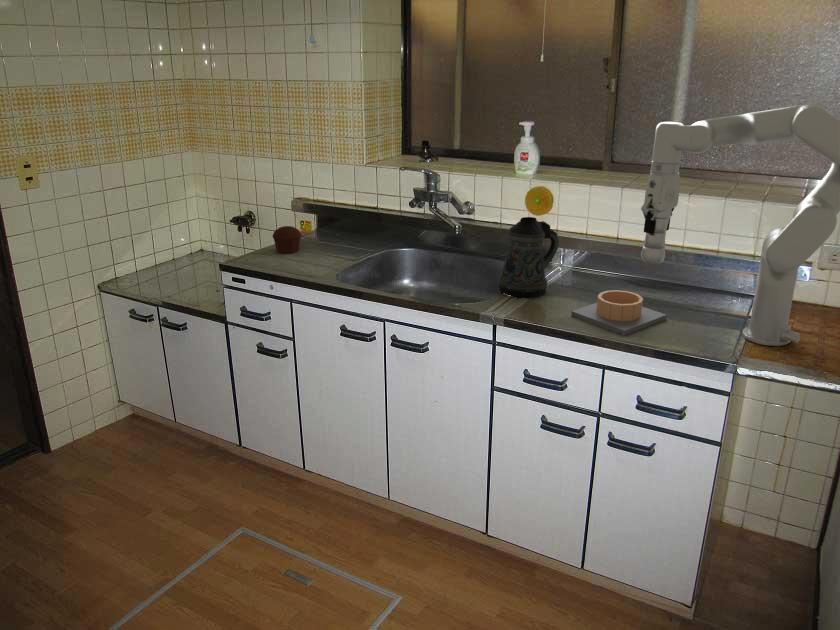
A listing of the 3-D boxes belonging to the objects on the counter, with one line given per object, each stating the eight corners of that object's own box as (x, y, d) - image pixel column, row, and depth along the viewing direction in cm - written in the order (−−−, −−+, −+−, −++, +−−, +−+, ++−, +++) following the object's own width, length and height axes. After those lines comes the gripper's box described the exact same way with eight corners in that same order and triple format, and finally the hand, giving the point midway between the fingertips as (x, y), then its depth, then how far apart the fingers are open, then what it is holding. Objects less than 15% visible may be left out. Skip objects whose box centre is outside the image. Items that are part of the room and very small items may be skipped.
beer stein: (488, 291, 242) (489, 219, 232) (522, 277, 254) (526, 209, 245) (527, 302, 231) (531, 227, 222) (561, 288, 243) (566, 216, 234)
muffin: (270, 255, 285) (268, 230, 281) (276, 247, 295) (274, 223, 291) (300, 255, 284) (298, 230, 281) (305, 247, 295) (303, 223, 291)
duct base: (666, 319, 216) (668, 299, 214) (624, 335, 205) (626, 314, 203) (613, 301, 231) (614, 282, 229) (571, 315, 220) (572, 295, 217)
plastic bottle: (665, 266, 204) (675, 197, 197) (640, 264, 205) (650, 196, 198) (662, 260, 210) (672, 192, 203) (639, 258, 211) (647, 191, 204)
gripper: (657, 173, 190) (648, 239, 197) (694, 167, 200) (685, 229, 206) (634, 169, 195) (626, 233, 202) (671, 163, 205) (663, 224, 212)
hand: (656, 230), depth 204 cm, fingers closed on plastic bottle, 6 cm apart
